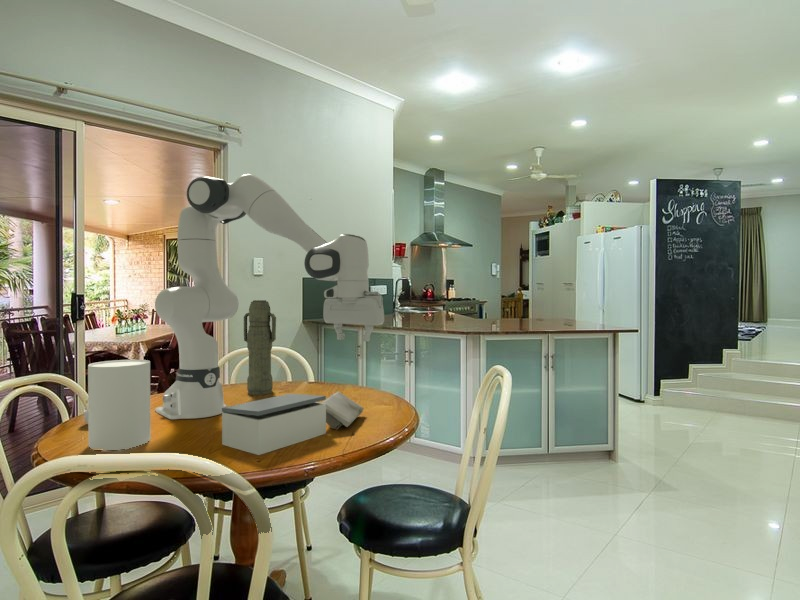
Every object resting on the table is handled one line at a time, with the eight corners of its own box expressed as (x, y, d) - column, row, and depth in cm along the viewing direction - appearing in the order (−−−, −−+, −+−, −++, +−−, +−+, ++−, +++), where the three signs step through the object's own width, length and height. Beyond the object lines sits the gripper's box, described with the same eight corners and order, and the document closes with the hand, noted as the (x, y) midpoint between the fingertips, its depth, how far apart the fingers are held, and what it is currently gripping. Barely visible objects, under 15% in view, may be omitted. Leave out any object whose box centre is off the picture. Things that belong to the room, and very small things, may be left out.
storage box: (222, 444, 124) (222, 412, 124) (290, 425, 142) (290, 397, 142) (258, 455, 116) (258, 420, 115) (326, 433, 133) (325, 403, 133)
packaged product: (357, 421, 152) (330, 402, 153) (365, 408, 151) (338, 389, 153) (341, 437, 134) (310, 416, 135) (350, 422, 134) (320, 401, 135)
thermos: (272, 398, 179) (272, 300, 178) (240, 398, 179) (239, 300, 179) (279, 393, 188) (279, 300, 187) (248, 393, 188) (247, 300, 188)
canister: (137, 432, 135) (136, 358, 135) (160, 441, 126) (159, 362, 126) (80, 443, 125) (79, 363, 124) (100, 455, 116) (100, 368, 116)
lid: (222, 411, 124) (221, 407, 124) (290, 397, 142) (289, 393, 142) (258, 415, 115) (258, 411, 116) (325, 399, 133) (325, 395, 133)
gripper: (389, 291, 138) (389, 341, 138) (334, 291, 150) (334, 337, 150) (374, 291, 133) (374, 343, 133) (319, 291, 145) (319, 339, 145)
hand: (353, 340), depth 142 cm, fingers open, 8 cm apart
